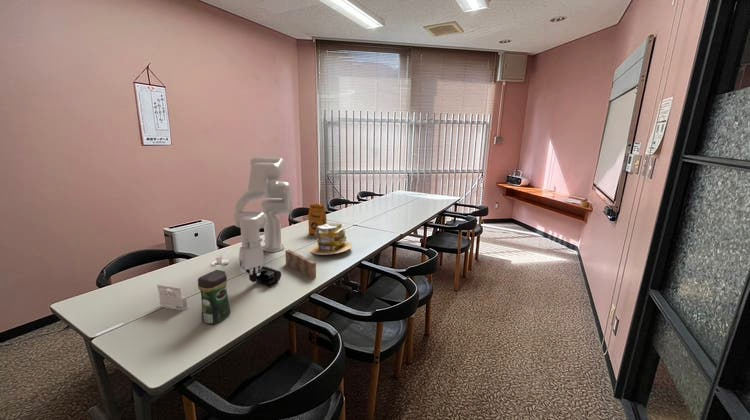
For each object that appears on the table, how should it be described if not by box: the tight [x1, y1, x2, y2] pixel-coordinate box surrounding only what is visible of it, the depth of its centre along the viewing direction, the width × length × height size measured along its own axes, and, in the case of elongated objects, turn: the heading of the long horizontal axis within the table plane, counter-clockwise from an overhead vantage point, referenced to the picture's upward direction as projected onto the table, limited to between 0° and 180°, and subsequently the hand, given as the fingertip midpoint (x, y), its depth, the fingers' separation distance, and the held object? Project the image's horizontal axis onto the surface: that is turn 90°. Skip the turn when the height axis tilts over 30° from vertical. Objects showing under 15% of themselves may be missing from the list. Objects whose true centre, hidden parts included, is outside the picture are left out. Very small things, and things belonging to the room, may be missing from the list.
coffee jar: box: [197, 269, 231, 325], centre depth 117 cm, size 10×8×19 cm
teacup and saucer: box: [211, 255, 230, 267], centre depth 166 cm, size 9×8×4 cm
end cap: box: [255, 265, 282, 288], centre depth 147 cm, size 10×7×7 cm
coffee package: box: [307, 202, 327, 236], centre depth 216 cm, size 10×12×22 cm
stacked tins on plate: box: [310, 222, 353, 256], centre depth 188 cm, size 25×25×17 cm
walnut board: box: [285, 249, 317, 280], centre depth 160 cm, size 24×2×8 cm, turn 48°
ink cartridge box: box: [156, 284, 188, 311], centre depth 123 cm, size 2×11×10 cm, turn 77°
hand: (253, 280), depth 142 cm, fingers closed
